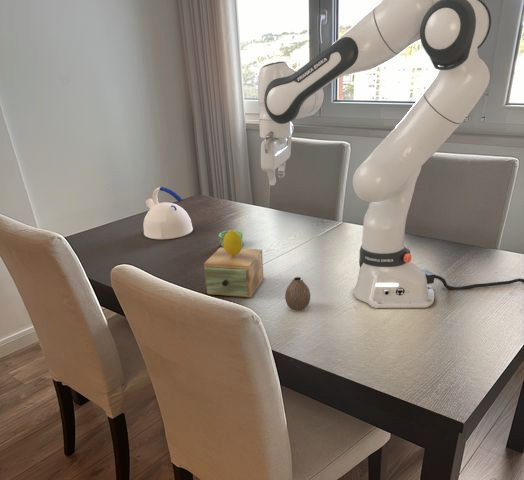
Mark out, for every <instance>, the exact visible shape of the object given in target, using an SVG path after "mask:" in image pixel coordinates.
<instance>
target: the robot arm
mask: <svg viewBox="0 0 524 480" xmlns="http://www.w3.org/2000/svg"><path fill="white" fill-rule="evenodd" d="M491 28H492V15H491V11H490V9H489V7H488V5H486V3H485V2H484V1H482V0H381V1H379V3H377V4H376V5H375V6H374V7H372V8H371V9H370V10H369V11H368V12H367V13H365V14H364V15H363V16H362V17H361V18H360V19H359V20H358V21H357V22H356V23H354V25H352V26H351V27H350V28H349V29H348V30H346V32H344V33H343V34H342V35H341V36H340V37H339V38H338V39H336V40H335V41H334V42H333V43H332V44H331V45H330V46H328V47H327V48H325V49H324V50H323V51H321V52H320V53H319V54H318V55H316V56H315V57H314V58H312V59H310V61H308V62H307V63H306V64H305V65H303V66H301V68H299V69H297V70H296V69H294V67H292V66H290V64H289V63H288V62H287V61H276V62H271V63H267V64H264V65H263V66H262V67H261V68H260V69H259V72H258V78H257V102H258V105H259V116H258V123H259V124H258V125H259V138H261V139H264V140H262V142H261V144H260V168H261V171H262V172H266V175H267V178H268V185H269V186H275V185H277V179H283V178H284V177H285V171H286V165H287V163H286V161H287V160H289V159H290V158H291V152H292V134H293V132H294V124H293V123H292V122H293V121H296V120H300V119H304V118H307V117H311V116H313V115H315V114H316V113H318V112H319V111H320V110H321V109H322V107H323V105H324V101H325V91H324V88H325V87H326V86H327V85H329V84H330V83H332V82H334V81H335V80H337V79H339V78H341V77H345V76H348V75H351V74H355V73H360V72H365V71H370V70H373V69H376V68H378V67H380V66H383V65H385V64H386V63H388V62H390V61H391V60H393V59H394V58H396V57H397V56H399V55H400V54H401V53H402V52H404V51H405V50H407V49H408V48H409V47H411V46H412V45H414V44H415V43H418V42H420V43H421V46H422V48H423V50H424V51H425V53H426V55H427V56H428V58H429V60H430V61H431V63H432V66H433V67H434V68H435V69H436V70H437V73H436V74H435V76H434V78H433V79H432V81H430V83H429V84H428V86H427V87H426V88H425V90H424V91H423V92H422V93H421V95H420V96H419V97H418V98H417V100H416V101H415V103H413V105H412V106H411V108H410V109H409V111H408V112H407V113H406V114H405V115H404V117H403V118H402V119H401V120H400V122H399V123H398V124H397V125H396V126H395V127H394V128H393V129H392V130H391V131H390V132H389V133H388V134H387V135H386V137H384V138H383V140H381V142H380V143H379V144H378V145H377V146H376V147H375V148H374V150H373V151H372V152H371V153H370V154H369V155H368V156H367V158H366V159H365V160H364V161H363V162H362V163H361V164H360V165H359V166H358V167H357V168H356V169H355V171H354V174H353V175H352V187H353V191H354V193H355V194H356V196H357V197H358V198H359V199H360V200H362V201H363V202H367V203H369V205H368V207H367V210H366V212H365V215H364V216H363V221H362V238H361V245H360V248H359V253H358V254H359V255H358V256H359V257H358V263H359V269H358V270H359V271H358V274H357V275H358V276H357V280H356V283H355V287H354V289H353V296H354V297H355V298H356V299H358V300H359V301H361V302H363V303H366V304H367V305H369V306H370V307H372V308H374V309H386V308H387V309H393V308H394V309H408V308H409V309H411V308H412V309H418V308H419V309H422V308H423V309H424V308H429V307H431V306H432V305H433V304H434V302H435V290H434V289H433V287H431V286H430V285H432V284H434V283H435V279H437V280H439V281H440V282H442V285H443V287H444V288H445V289H448V290H451V291H454V290H458V291H459V290H469V289H474V288H484V287H485V288H486V287H494V286H495V287H496V286H502V285H503V286H504V285H511V284H515V283H523V284H524V278H515V279H510V280H505V281H494V282H484V283H473V284H468V285H464V286H451V285H449V284H448V283H447V281H446V279H445V278H444V277H442V276H441V275H438V274H435V273H433V272H432V271H430V270H429V269H428V268H423V269H422V268H420V267H419V266H417V265H416V264H415V263H413V261H412V254H411V250H410V247H409V246H407V247H406V246H405V245H404V243H405V232H406V223H407V218H408V213H409V210H410V206H411V203H412V199H413V194H414V192H415V187H416V183H417V181H418V178H419V176H420V173H421V171H422V166H423V165H424V164H425V163H426V162H427V161H428V160H429V159H430V158H431V157H432V156H433V155H434V154H436V152H438V151H439V150H440V148H441V147H442V146H443V145H444V143H445V142H447V140H448V139H449V138H450V136H452V135H453V133H454V132H455V131H456V130H457V129H458V127H459V126H460V125H461V124H462V123H463V122H464V120H465V119H466V118H467V117H468V116H469V114H470V113H471V112H472V110H473V109H474V108H475V106H476V105H477V104H478V103H479V101H480V99H481V98H482V96H483V95H484V93H485V91H486V89H487V88H488V86H489V83H490V78H491V75H490V69H489V67H488V66H487V64H486V62H485V61H484V60H483V59H481V58H480V56H479V53H478V51H479V49H480V48H481V47H482V46H483V44H484V43H485V42H486V41H487V38H488V37H489V34H490V32H491ZM276 169H277V171H276ZM276 172H277V177H276Z"/></svg>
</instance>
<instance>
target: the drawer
mask: <svg viewBox="0 0 524 480" xmlns="http://www.w3.org/2000/svg"><path fill="white" fill-rule="evenodd" d="M204 277H206V278H205V285H207V287H206V293H214V294H227V295H239V296H248V295H249V293H248V279H247V269H239V268H223V267H205V270H204ZM214 294H213V295H214ZM239 296H238V297H239Z"/></svg>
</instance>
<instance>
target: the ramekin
mask: <svg viewBox="0 0 524 480" xmlns="http://www.w3.org/2000/svg"><path fill="white" fill-rule="evenodd" d="M232 230H233V229H232ZM229 231H230V230H224V231H221V232H220V233H219V234H218V237H219V241H220V247H221V248H224V245H223V240H224V236H225V234H226V233H228V232H229ZM233 231H235V232H237V233H238V234H239V235H240V237H241V240H242V241H243V235H244V233H243V232H242V231H240V230H237V229H235V230H233Z"/></svg>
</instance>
